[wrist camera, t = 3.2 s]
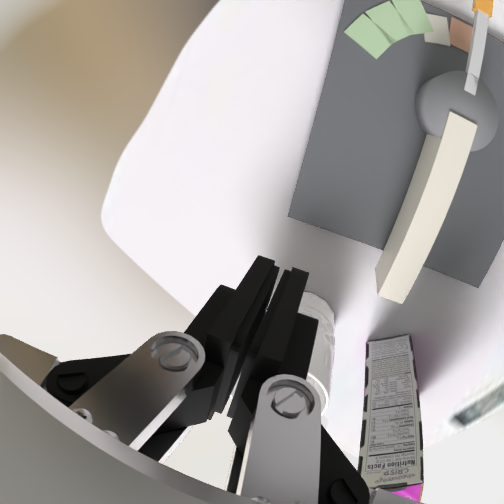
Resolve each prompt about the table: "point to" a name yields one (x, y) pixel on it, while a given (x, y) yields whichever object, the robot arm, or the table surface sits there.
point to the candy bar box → (392, 420)
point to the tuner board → (399, 134)
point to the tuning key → (439, 161)
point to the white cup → (318, 347)
